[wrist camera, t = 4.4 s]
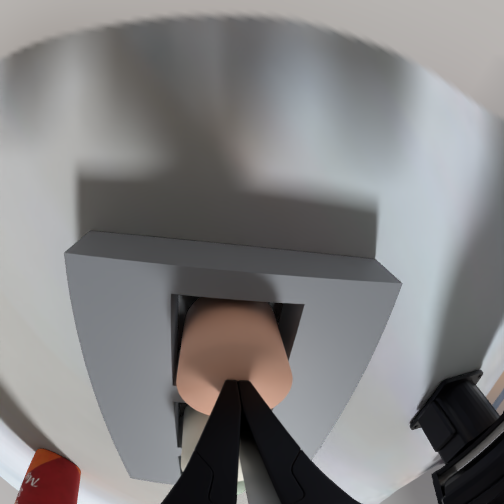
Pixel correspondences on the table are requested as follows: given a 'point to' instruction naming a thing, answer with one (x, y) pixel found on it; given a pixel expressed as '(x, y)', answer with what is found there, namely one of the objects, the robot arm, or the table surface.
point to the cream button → (195, 435)
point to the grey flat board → (224, 287)
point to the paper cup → (50, 480)
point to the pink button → (231, 352)
